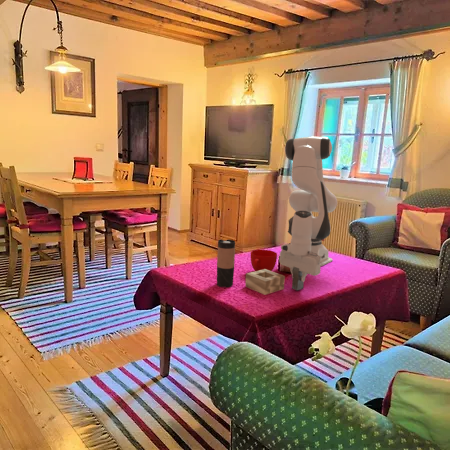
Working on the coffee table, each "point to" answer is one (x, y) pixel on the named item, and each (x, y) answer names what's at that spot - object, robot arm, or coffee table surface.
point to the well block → (265, 281)
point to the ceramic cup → (263, 259)
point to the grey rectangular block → (297, 279)
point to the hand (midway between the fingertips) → (298, 279)
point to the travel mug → (225, 263)
